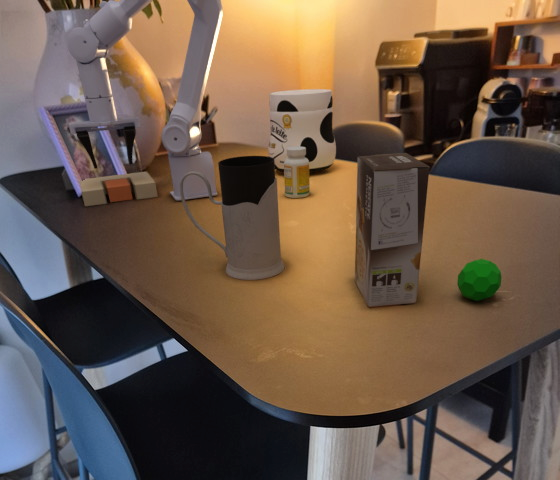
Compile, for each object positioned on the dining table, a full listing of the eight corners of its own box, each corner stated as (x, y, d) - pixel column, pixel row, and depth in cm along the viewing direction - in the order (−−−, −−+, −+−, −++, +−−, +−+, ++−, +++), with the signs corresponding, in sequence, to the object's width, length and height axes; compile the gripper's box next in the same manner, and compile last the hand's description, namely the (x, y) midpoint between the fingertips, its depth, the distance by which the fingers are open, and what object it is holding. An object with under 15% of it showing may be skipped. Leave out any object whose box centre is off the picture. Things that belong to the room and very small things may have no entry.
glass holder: (278, 280, 72) (272, 167, 64) (182, 278, 74) (164, 169, 66) (288, 258, 79) (284, 154, 71) (200, 257, 81) (186, 156, 73)
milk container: (256, 174, 132) (250, 95, 123) (293, 161, 144) (290, 88, 134) (313, 180, 124) (312, 95, 114) (347, 166, 135) (349, 88, 126)
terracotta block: (129, 192, 123) (126, 178, 121) (132, 199, 116) (129, 184, 114) (107, 194, 121) (104, 180, 120) (110, 202, 115) (106, 187, 113)
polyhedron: (504, 305, 62) (512, 267, 59) (464, 308, 61) (470, 270, 59) (487, 288, 66) (493, 252, 63) (449, 291, 66) (454, 255, 63)
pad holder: (149, 185, 128) (146, 171, 127) (157, 196, 117) (155, 182, 115) (82, 193, 124) (79, 179, 122) (85, 206, 113) (81, 191, 111)
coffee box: (418, 303, 63) (432, 165, 54) (367, 308, 63) (373, 170, 54) (397, 276, 71) (407, 151, 62) (352, 279, 71) (355, 155, 62)
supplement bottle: (282, 198, 110) (280, 150, 105) (287, 192, 114) (285, 146, 109) (307, 198, 109) (306, 150, 104) (311, 192, 113) (310, 145, 108)
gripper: (62, 101, 103) (80, 172, 110) (136, 95, 106) (148, 164, 114) (62, 99, 108) (79, 167, 116) (132, 93, 112) (144, 159, 119)
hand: (113, 165), depth 115 cm, fingers open, 7 cm apart
